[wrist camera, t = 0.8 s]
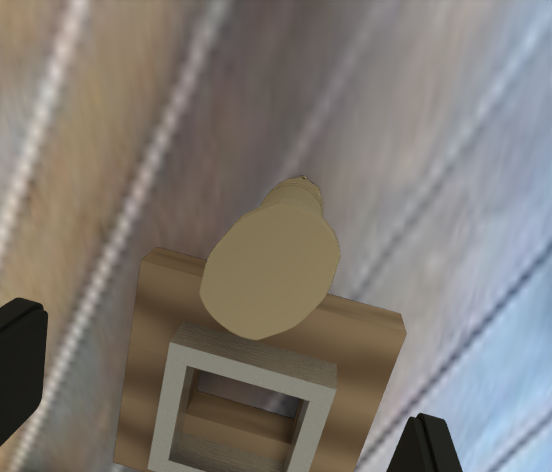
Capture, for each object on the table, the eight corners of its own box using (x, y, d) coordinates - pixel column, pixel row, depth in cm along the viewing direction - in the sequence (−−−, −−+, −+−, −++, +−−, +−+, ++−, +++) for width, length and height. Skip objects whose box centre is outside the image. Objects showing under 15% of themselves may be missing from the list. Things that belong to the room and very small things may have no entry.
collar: (184, 321, 33) (169, 342, 31) (336, 364, 33) (336, 389, 30) (162, 440, 37) (147, 469, 35) (297, 481, 37) (294, 513, 34)
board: (157, 247, 35) (141, 260, 32) (401, 313, 34) (406, 333, 31) (128, 437, 42) (112, 462, 39) (331, 498, 41) (331, 528, 38)
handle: (353, 185, 32) (364, 259, 17) (295, 247, 34) (263, 358, 19) (302, 140, 31) (272, 179, 17) (246, 206, 33) (178, 290, 19)
